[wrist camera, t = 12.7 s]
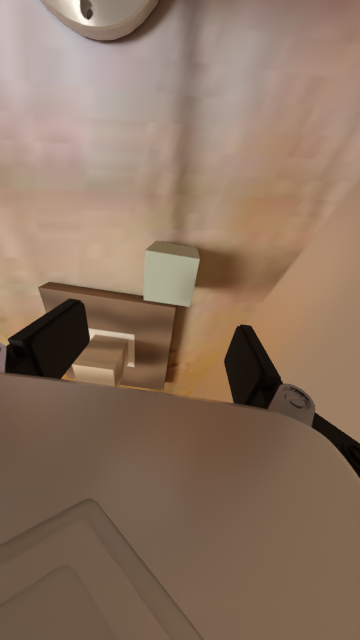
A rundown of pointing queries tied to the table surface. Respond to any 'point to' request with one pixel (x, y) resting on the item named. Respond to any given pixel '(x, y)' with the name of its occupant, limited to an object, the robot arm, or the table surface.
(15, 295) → the table surface
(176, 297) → the sage block
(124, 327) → the walnut board
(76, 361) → the maple block
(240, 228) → the table surface
